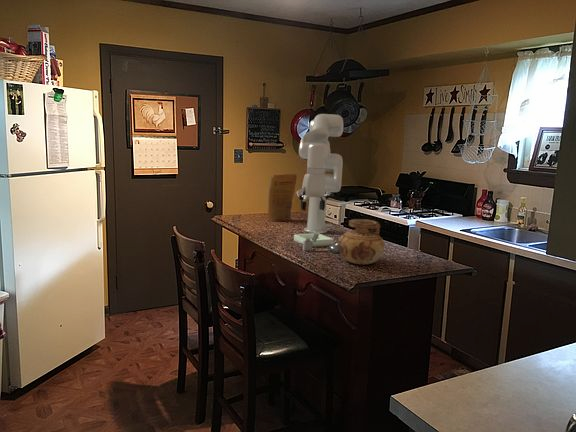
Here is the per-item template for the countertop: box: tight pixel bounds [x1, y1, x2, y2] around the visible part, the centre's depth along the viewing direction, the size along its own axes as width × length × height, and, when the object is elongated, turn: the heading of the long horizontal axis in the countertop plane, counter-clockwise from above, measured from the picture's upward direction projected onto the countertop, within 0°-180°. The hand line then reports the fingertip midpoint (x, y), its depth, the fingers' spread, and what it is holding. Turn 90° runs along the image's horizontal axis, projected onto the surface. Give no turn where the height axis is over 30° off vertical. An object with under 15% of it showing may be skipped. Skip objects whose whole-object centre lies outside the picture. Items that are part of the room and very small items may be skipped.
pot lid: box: [328, 242, 341, 255], centre depth 220 cm, size 8×8×4 cm
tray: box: [293, 233, 335, 248], centre depth 234 cm, size 14×14×3 cm
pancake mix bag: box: [266, 173, 298, 222], centre depth 286 cm, size 7×19×28 cm, turn 120°
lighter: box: [302, 232, 320, 252], centre depth 219 cm, size 7×2×8 cm, turn 115°
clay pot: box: [337, 218, 385, 266], centre depth 203 cm, size 19×19×20 cm
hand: (312, 209), depth 217 cm, fingers open, 9 cm apart
